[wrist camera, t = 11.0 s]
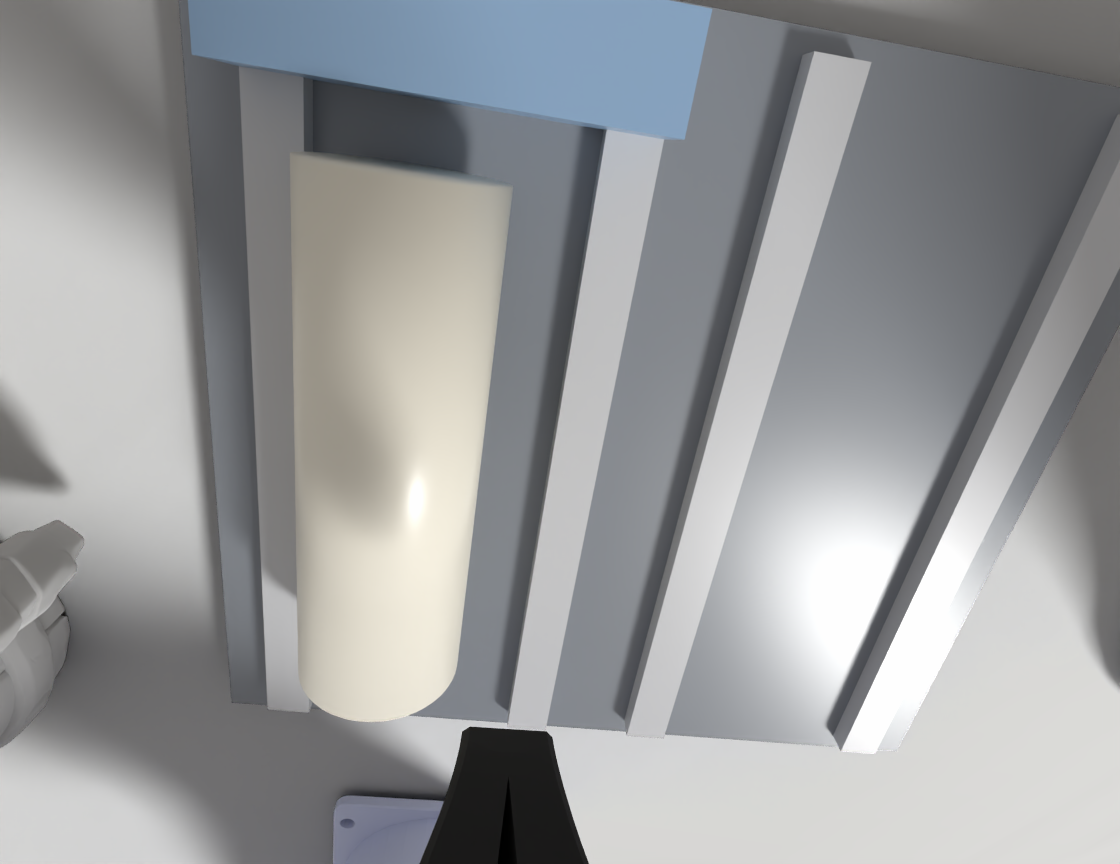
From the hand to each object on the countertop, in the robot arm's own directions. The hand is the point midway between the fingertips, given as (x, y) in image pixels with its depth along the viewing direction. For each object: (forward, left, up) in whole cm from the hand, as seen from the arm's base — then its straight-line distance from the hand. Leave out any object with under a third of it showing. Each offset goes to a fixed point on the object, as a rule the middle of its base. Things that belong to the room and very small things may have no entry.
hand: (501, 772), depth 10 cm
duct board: (+2, -3, -9) cm, 10 cm away
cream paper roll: (+2, +2, -8) cm, 8 cm away
